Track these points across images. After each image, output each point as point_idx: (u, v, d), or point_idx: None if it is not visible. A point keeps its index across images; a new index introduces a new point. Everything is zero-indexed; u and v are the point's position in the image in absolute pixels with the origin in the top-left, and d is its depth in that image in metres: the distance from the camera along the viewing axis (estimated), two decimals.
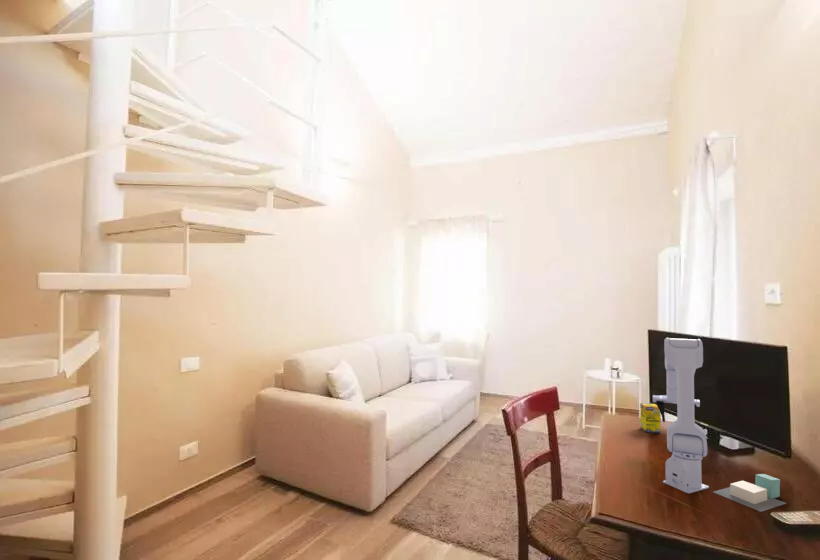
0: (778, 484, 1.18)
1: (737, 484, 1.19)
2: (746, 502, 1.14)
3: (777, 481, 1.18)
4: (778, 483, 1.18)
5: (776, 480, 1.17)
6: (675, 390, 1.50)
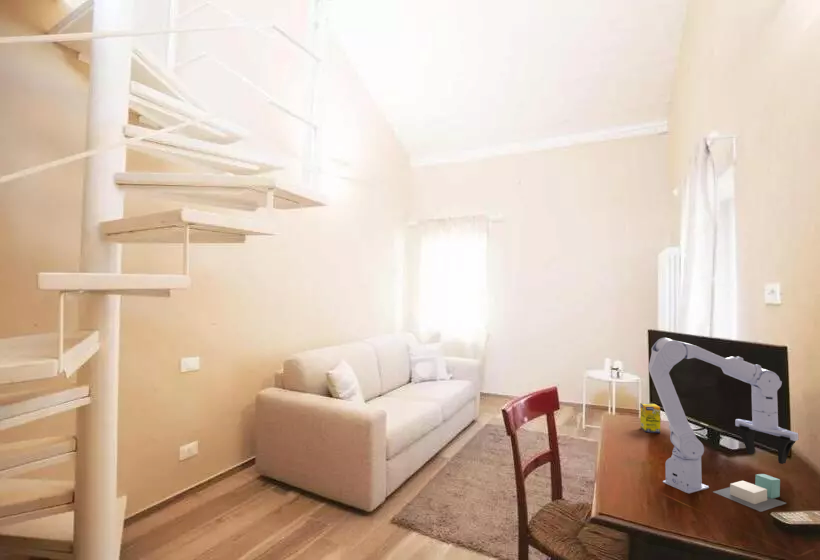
0: (778, 484, 1.18)
1: (737, 484, 1.19)
2: (746, 502, 1.14)
3: (777, 481, 1.18)
4: (778, 483, 1.18)
5: (776, 480, 1.17)
6: (757, 412, 1.19)
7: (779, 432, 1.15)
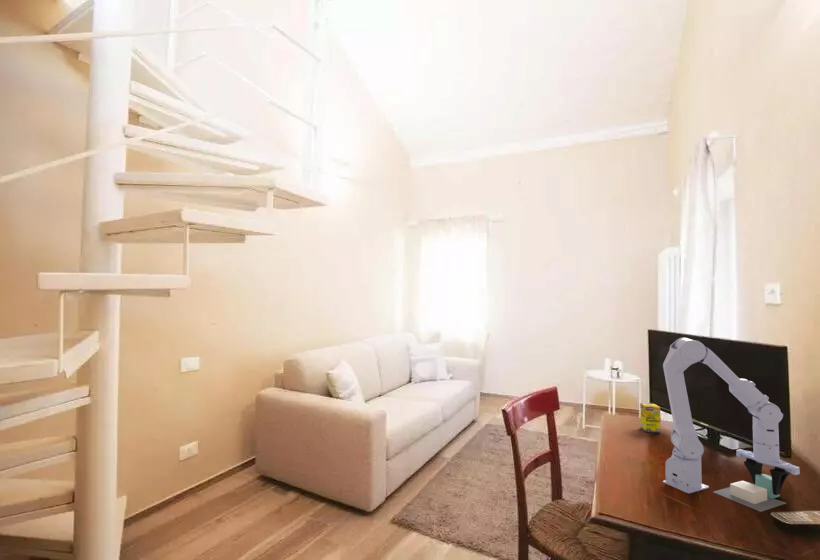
0: None
1: (737, 484, 1.19)
2: (746, 502, 1.14)
3: None
4: None
5: None
6: (758, 444, 1.19)
7: (780, 465, 1.15)
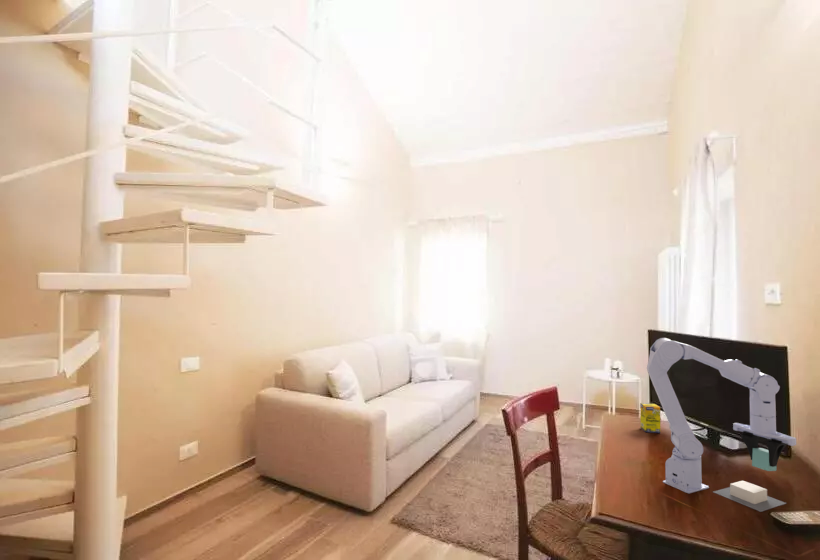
0: None
1: (737, 484, 1.19)
2: (746, 502, 1.14)
3: None
4: None
5: None
6: (755, 416, 1.19)
7: (777, 437, 1.15)
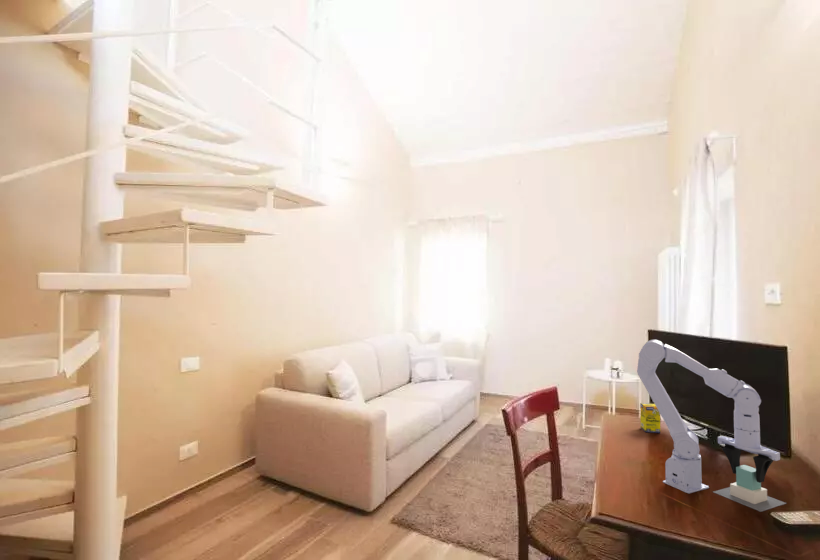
0: None
1: None
2: (746, 502, 1.14)
3: None
4: None
5: None
6: (739, 430, 1.17)
7: (760, 451, 1.13)
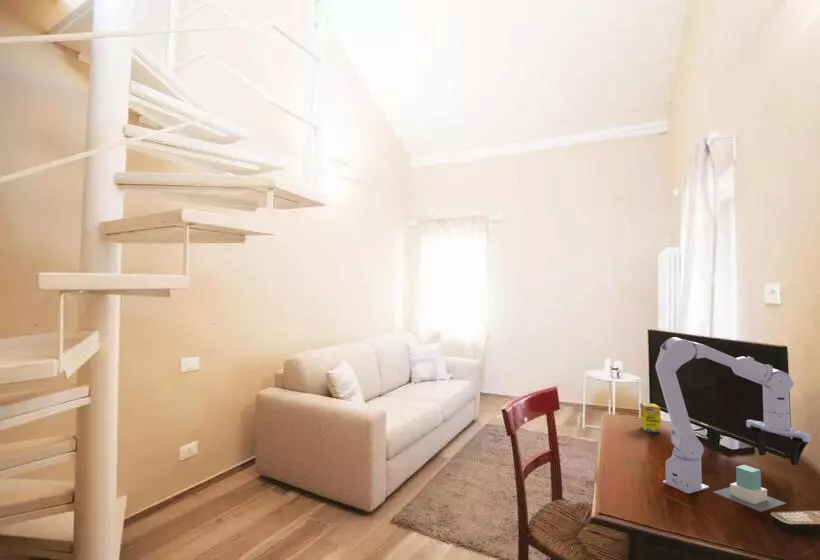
0: (758, 475, 1.16)
1: None
2: (746, 502, 1.14)
3: (758, 472, 1.16)
4: (759, 474, 1.16)
5: (756, 471, 1.16)
6: (769, 413, 1.18)
7: (791, 433, 1.14)
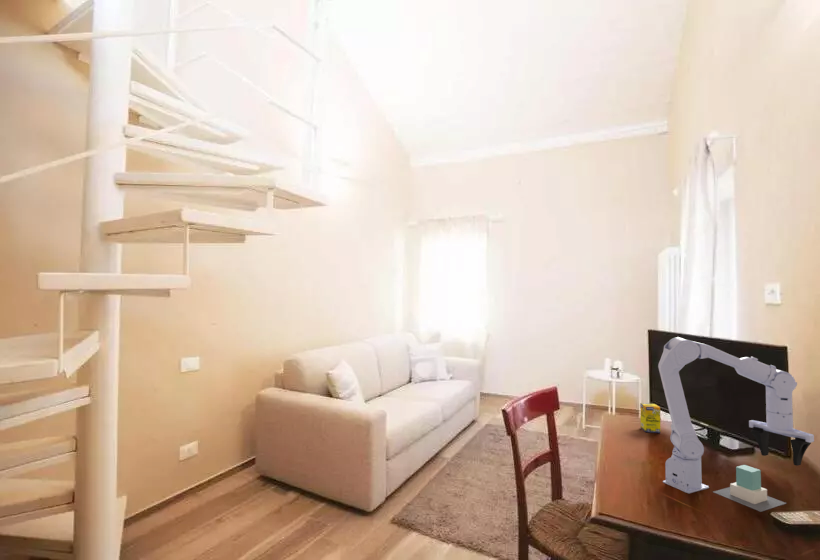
0: (758, 475, 1.16)
1: None
2: (746, 502, 1.14)
3: (758, 472, 1.16)
4: (759, 474, 1.16)
5: (756, 471, 1.16)
6: (772, 413, 1.18)
7: (794, 433, 1.14)
